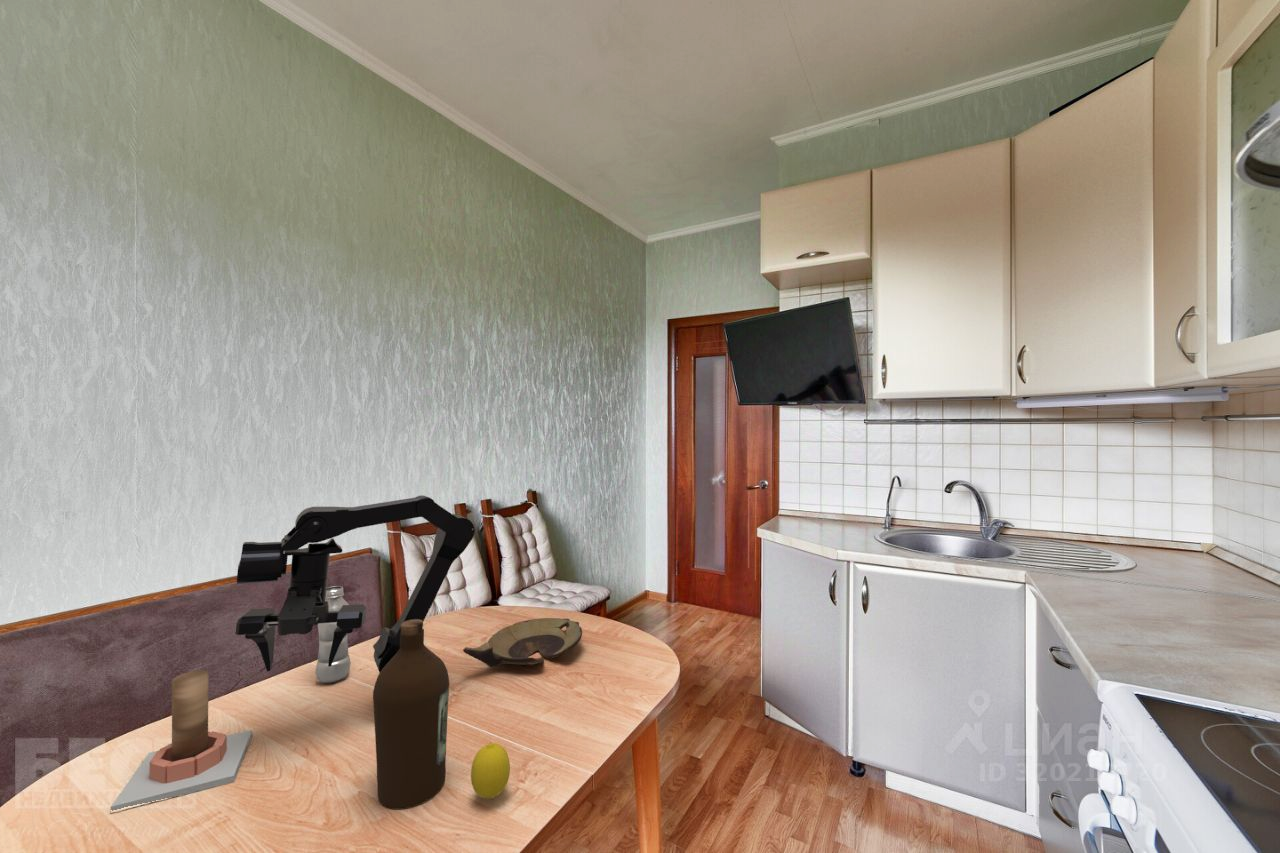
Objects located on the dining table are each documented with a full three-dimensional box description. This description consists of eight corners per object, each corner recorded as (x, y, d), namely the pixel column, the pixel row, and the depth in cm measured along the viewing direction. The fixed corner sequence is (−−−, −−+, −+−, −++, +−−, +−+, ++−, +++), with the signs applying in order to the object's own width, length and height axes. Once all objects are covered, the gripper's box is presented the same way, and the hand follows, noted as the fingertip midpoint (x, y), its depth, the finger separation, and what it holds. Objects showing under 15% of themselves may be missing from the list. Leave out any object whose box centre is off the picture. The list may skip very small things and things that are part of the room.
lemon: (475, 786, 78) (475, 733, 78) (512, 784, 78) (512, 731, 78) (466, 813, 72) (466, 756, 72) (506, 810, 73) (506, 754, 73)
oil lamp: (599, 662, 120) (599, 629, 120) (467, 693, 106) (466, 656, 106) (567, 630, 140) (567, 602, 140) (451, 653, 126) (451, 621, 126)
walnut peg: (215, 755, 84) (215, 669, 85) (191, 772, 80) (192, 682, 80) (188, 755, 84) (189, 670, 85) (163, 772, 80) (164, 683, 80)
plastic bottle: (308, 684, 110) (308, 591, 111) (337, 670, 117) (337, 582, 117) (329, 689, 108) (329, 594, 108) (357, 675, 114) (357, 585, 115)
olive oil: (368, 821, 71) (368, 640, 71) (377, 774, 81) (377, 615, 81) (449, 801, 75) (449, 629, 75) (449, 758, 85) (448, 607, 85)
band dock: (252, 735, 92) (252, 715, 92) (233, 781, 79) (233, 759, 79) (148, 758, 85) (148, 737, 85) (110, 813, 73) (110, 789, 73)
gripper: (227, 592, 80) (216, 694, 80) (360, 588, 87) (352, 682, 86) (252, 576, 91) (242, 665, 90) (369, 573, 98) (362, 657, 97)
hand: (300, 668), depth 90 cm, fingers open, 9 cm apart
